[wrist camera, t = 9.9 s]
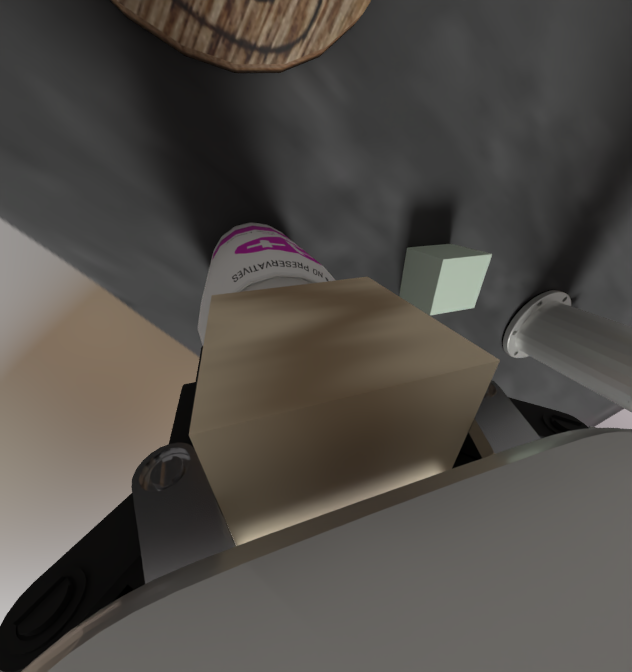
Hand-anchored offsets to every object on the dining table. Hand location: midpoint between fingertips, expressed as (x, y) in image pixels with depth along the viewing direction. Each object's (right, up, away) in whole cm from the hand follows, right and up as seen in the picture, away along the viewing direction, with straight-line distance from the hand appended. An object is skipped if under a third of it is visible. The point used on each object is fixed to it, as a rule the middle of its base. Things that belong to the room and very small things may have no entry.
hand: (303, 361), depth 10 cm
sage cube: (+14, +9, +21) cm, 27 cm away
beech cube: (0, 0, 0) cm, 1 cm away
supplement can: (-5, +8, +15) cm, 18 cm away
